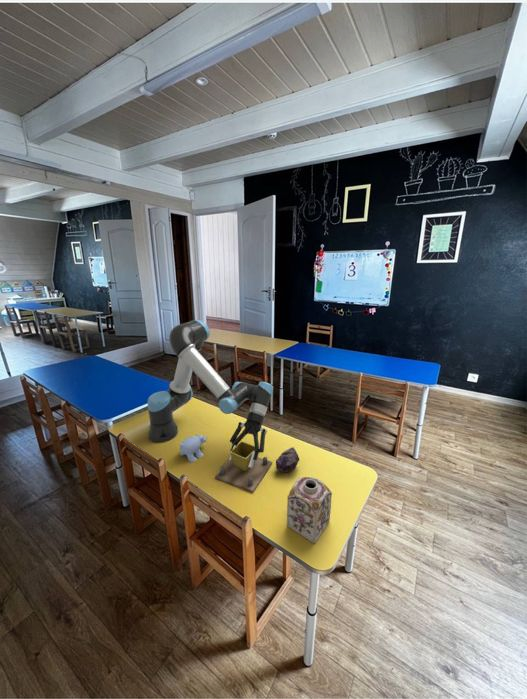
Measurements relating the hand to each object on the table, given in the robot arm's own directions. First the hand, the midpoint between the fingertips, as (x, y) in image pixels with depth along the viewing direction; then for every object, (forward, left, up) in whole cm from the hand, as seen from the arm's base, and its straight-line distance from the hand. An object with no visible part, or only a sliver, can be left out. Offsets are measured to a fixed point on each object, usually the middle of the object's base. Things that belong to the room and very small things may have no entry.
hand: (240, 463), depth 123 cm
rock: (+18, +14, -6) cm, 23 cm away
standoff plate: (0, +3, -6) cm, 7 cm away
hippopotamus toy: (-29, +3, -6) cm, 30 cm away
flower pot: (0, +3, -4) cm, 5 cm away
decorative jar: (+34, -10, -6) cm, 36 cm away
